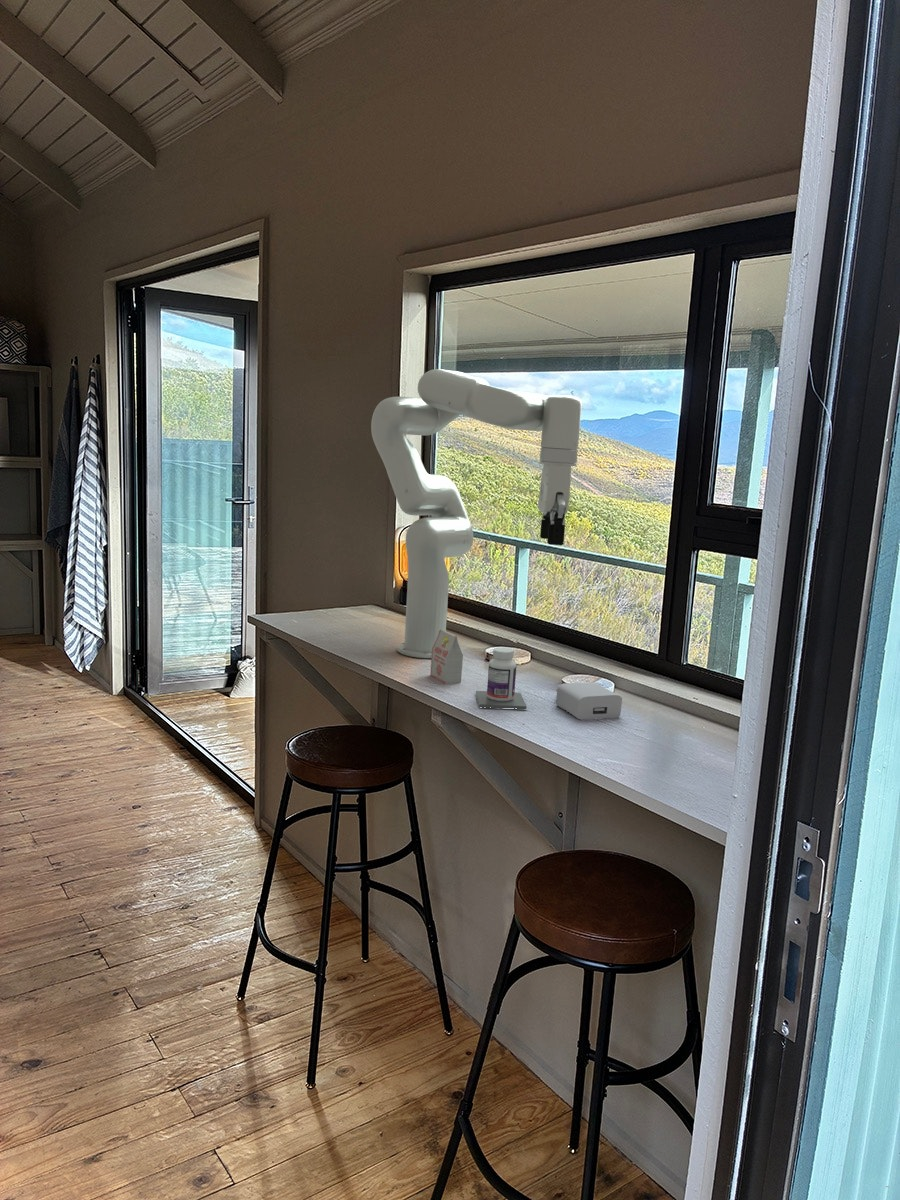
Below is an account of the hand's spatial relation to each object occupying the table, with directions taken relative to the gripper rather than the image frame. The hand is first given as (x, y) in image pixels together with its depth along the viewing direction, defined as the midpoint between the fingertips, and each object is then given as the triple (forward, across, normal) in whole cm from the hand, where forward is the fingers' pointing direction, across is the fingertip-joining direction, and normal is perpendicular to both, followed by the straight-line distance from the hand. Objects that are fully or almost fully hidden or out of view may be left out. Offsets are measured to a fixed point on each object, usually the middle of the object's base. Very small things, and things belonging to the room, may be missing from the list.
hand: (551, 541), depth 188 cm
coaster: (+30, +15, -10) cm, 35 cm away
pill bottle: (+30, +15, -10) cm, 35 cm away
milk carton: (+31, 0, -20) cm, 37 cm away
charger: (+31, +16, +6) cm, 35 cm away
